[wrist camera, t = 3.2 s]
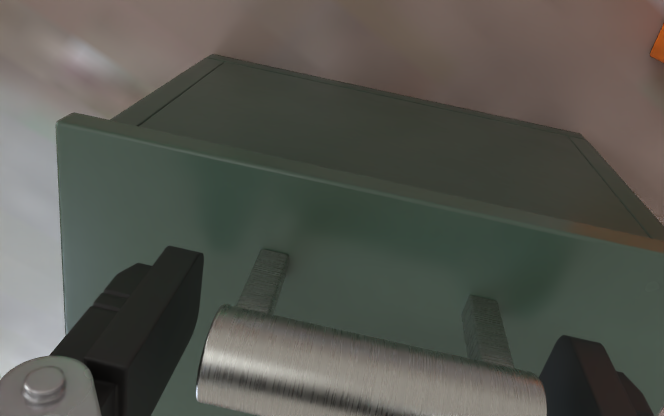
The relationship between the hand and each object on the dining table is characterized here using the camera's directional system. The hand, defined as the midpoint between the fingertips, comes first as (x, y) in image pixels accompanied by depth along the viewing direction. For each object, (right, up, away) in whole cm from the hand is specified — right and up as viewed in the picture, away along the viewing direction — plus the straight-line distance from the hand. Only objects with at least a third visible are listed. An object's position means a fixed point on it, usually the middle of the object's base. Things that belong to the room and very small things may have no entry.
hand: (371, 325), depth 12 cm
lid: (-1, -4, +5) cm, 7 cm away
